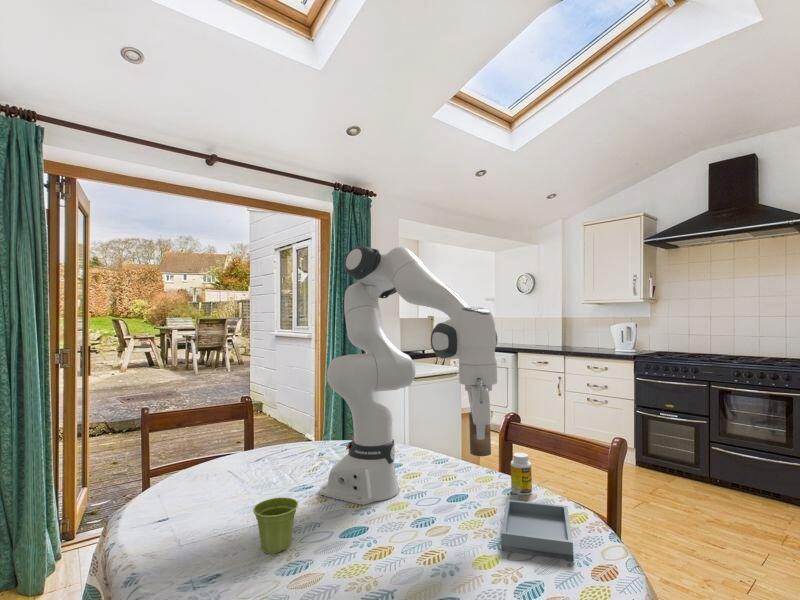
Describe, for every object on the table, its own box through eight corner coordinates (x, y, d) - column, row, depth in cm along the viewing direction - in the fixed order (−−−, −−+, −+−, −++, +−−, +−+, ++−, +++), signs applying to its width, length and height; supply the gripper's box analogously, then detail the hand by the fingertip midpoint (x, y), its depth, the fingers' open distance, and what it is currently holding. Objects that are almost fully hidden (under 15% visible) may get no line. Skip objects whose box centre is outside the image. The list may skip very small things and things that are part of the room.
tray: (501, 550, 89) (501, 533, 89) (507, 513, 105) (506, 499, 105) (573, 560, 85) (572, 542, 85) (567, 521, 101) (567, 506, 101)
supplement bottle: (522, 498, 114) (521, 459, 115) (507, 491, 119) (505, 454, 119) (536, 492, 117) (535, 455, 118) (520, 486, 122) (519, 450, 122)
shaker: (465, 452, 100) (464, 408, 101) (481, 448, 103) (480, 406, 103) (479, 457, 96) (478, 412, 97) (495, 453, 99) (494, 409, 99)
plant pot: (262, 535, 97) (262, 497, 98) (303, 535, 97) (302, 496, 97) (246, 558, 88) (246, 516, 88) (291, 558, 88) (291, 515, 88)
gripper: (496, 382, 90) (498, 448, 89) (488, 370, 110) (489, 424, 109) (465, 382, 90) (467, 448, 90) (463, 370, 111) (465, 424, 110)
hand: (479, 435), depth 100 cm, fingers closed on shaker, 5 cm apart
